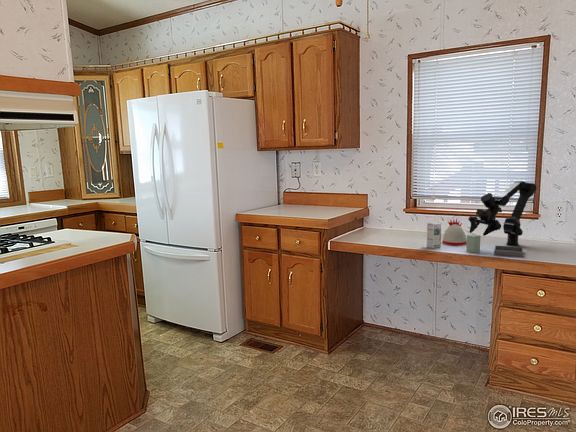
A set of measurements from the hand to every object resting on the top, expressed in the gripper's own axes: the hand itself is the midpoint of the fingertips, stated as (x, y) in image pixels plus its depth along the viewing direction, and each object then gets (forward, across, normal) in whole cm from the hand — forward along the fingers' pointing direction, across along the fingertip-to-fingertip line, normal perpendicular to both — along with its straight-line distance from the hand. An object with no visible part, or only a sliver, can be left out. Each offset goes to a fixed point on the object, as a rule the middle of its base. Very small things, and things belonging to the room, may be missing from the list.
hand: (476, 233), depth 253 cm
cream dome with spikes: (+3, -21, +11) cm, 24 cm away
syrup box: (+16, -20, -2) cm, 25 cm away
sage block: (+8, 0, +5) cm, 10 cm away
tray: (0, +14, +13) cm, 19 cm away
